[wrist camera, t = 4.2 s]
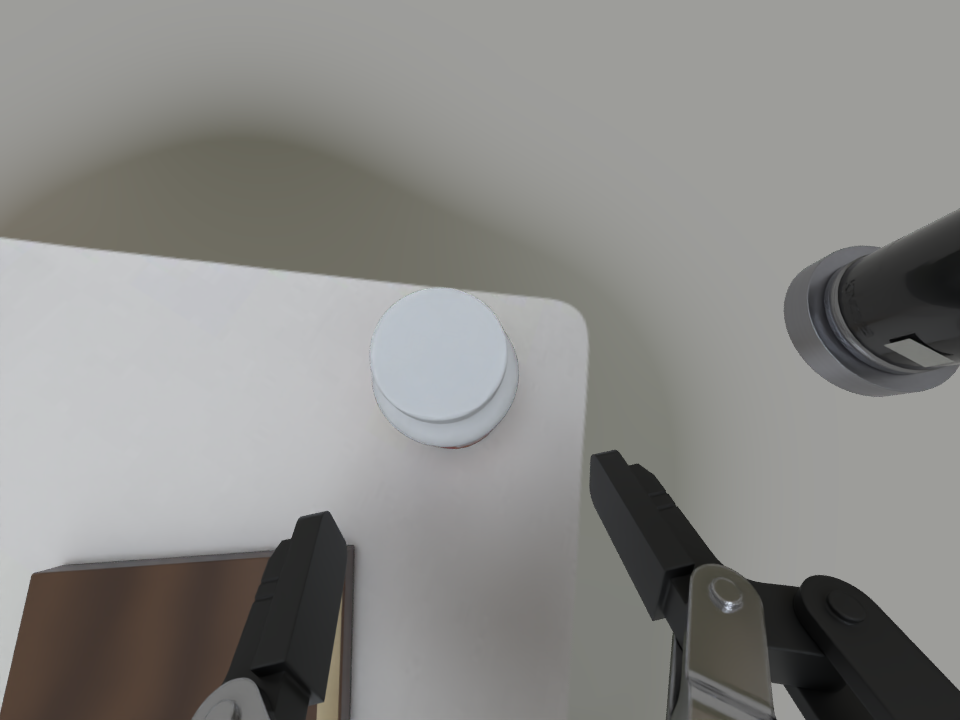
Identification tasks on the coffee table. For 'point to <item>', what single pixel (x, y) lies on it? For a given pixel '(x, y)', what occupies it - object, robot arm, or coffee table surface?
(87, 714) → the board
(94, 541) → the coffee table surface
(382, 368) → the pill bottle
